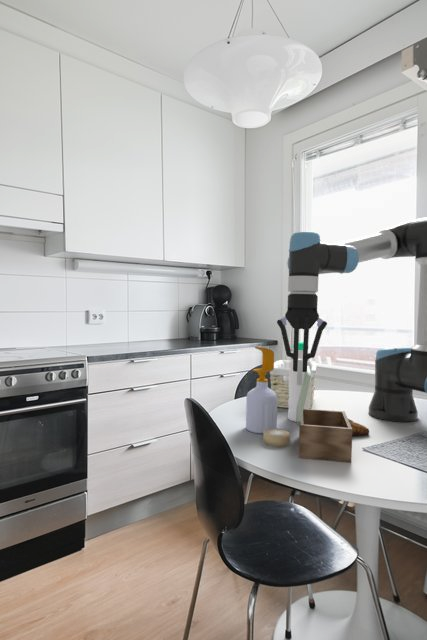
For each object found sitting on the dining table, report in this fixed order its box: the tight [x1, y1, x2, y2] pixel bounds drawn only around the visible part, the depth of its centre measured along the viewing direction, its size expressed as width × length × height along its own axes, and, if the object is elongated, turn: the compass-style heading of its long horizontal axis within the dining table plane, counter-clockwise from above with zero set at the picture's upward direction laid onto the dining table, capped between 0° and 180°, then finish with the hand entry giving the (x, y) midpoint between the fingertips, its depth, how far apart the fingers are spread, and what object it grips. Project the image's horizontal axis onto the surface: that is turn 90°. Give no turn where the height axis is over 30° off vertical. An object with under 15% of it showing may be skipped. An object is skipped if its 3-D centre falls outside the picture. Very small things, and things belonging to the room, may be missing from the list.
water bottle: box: [287, 341, 312, 423], centre depth 129 cm, size 7×7×25 cm
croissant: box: [348, 418, 370, 437], centre depth 116 cm, size 14×7×5 cm, turn 81°
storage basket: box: [269, 359, 318, 409], centre depth 153 cm, size 24×16×15 cm
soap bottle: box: [245, 346, 278, 435], centre depth 119 cm, size 9×9×25 cm
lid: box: [295, 366, 311, 426], centre depth 104 cm, size 12×16×1 cm
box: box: [298, 408, 353, 463], centre depth 104 cm, size 12×16×8 cm
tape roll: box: [262, 428, 291, 448], centre depth 108 cm, size 7×7×2 cm
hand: (299, 384), depth 105 cm, fingers closed
